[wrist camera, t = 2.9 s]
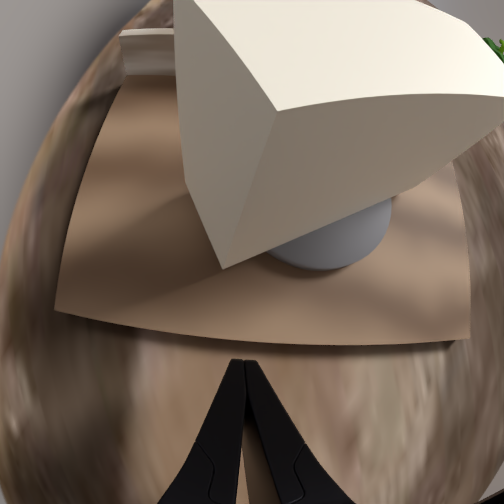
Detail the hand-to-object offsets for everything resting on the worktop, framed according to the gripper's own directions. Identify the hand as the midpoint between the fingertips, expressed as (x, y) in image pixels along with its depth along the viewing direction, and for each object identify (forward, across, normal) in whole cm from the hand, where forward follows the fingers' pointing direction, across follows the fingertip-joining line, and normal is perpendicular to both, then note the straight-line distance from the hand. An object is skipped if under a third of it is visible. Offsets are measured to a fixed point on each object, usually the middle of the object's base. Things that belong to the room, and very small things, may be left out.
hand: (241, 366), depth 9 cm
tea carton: (+10, -4, -3) cm, 12 cm away
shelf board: (+12, -4, -2) cm, 12 cm away
